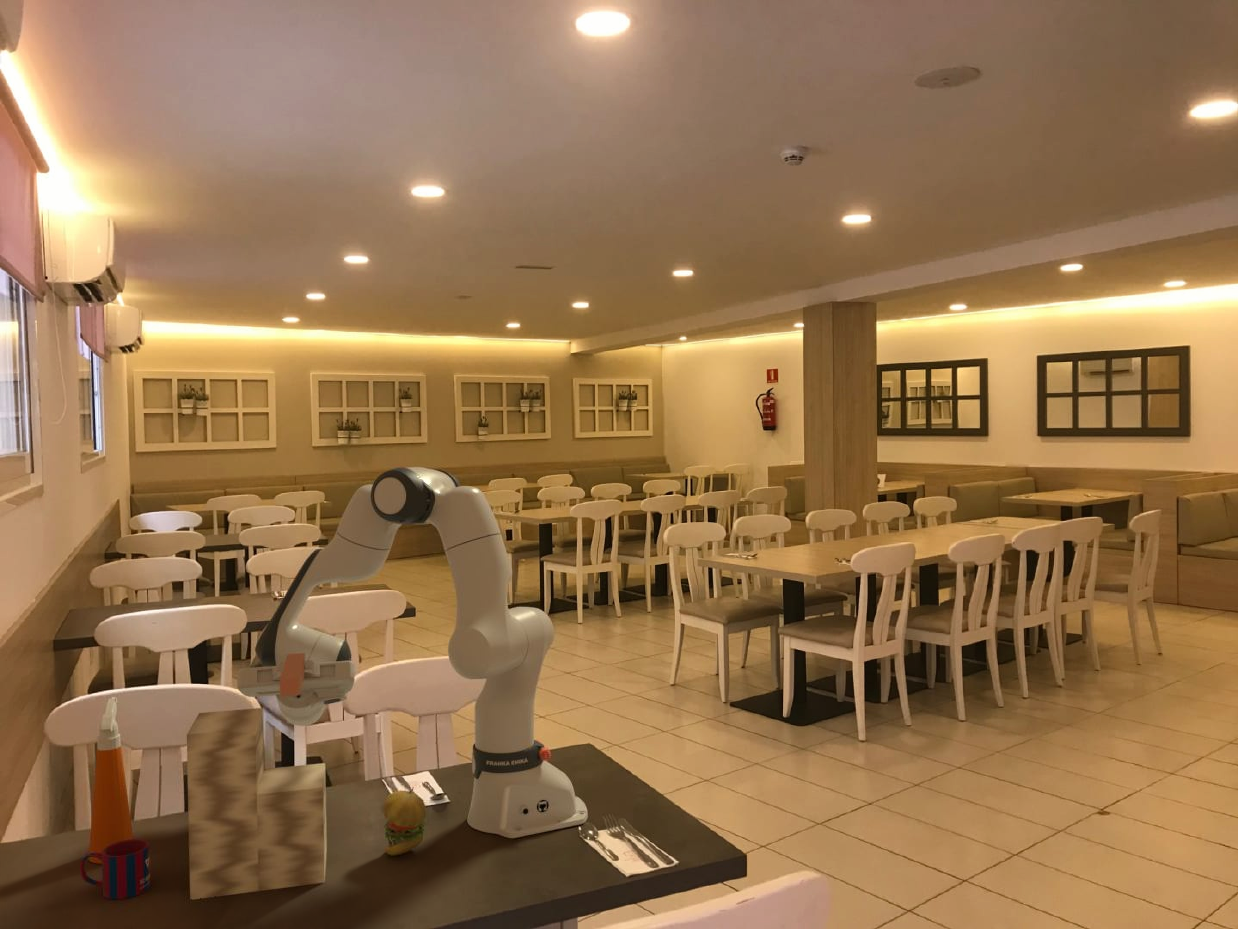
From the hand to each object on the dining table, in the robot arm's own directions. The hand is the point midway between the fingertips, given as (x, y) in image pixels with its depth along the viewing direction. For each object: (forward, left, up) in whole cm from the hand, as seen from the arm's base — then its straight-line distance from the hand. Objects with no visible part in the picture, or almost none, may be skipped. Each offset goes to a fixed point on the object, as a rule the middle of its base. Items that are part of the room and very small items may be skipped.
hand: (294, 665), depth 166 cm
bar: (0, +4, -2) cm, 5 cm away
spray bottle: (+31, -7, -32) cm, 45 cm away
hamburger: (-18, +9, -32) cm, 38 cm away
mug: (+27, +9, -32) cm, 43 cm away
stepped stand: (+5, +10, -32) cm, 34 cm away
